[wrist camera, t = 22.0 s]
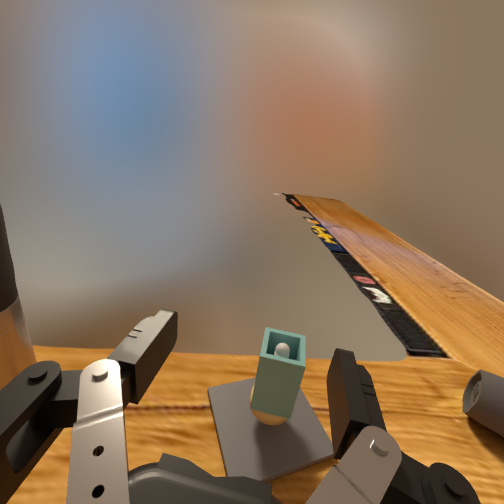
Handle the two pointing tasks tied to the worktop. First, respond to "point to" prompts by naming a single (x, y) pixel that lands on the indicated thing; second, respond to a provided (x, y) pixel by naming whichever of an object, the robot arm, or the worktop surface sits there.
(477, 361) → the worktop surface
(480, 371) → the bluetooth speaker
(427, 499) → the robot arm
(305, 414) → the pipe stand
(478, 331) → the worktop surface
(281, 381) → the sleeve
